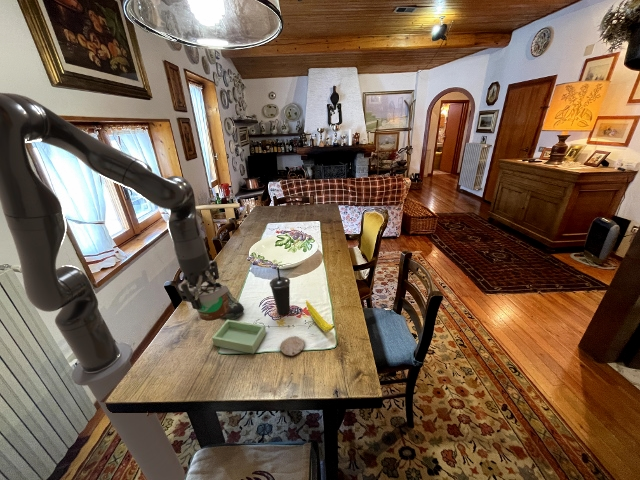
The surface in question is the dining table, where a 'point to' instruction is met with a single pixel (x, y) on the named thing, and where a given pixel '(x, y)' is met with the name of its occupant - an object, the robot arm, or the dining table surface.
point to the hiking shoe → (232, 305)
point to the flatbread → (292, 345)
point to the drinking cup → (281, 293)
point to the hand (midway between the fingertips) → (206, 301)
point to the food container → (213, 302)
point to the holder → (239, 336)
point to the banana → (318, 318)
